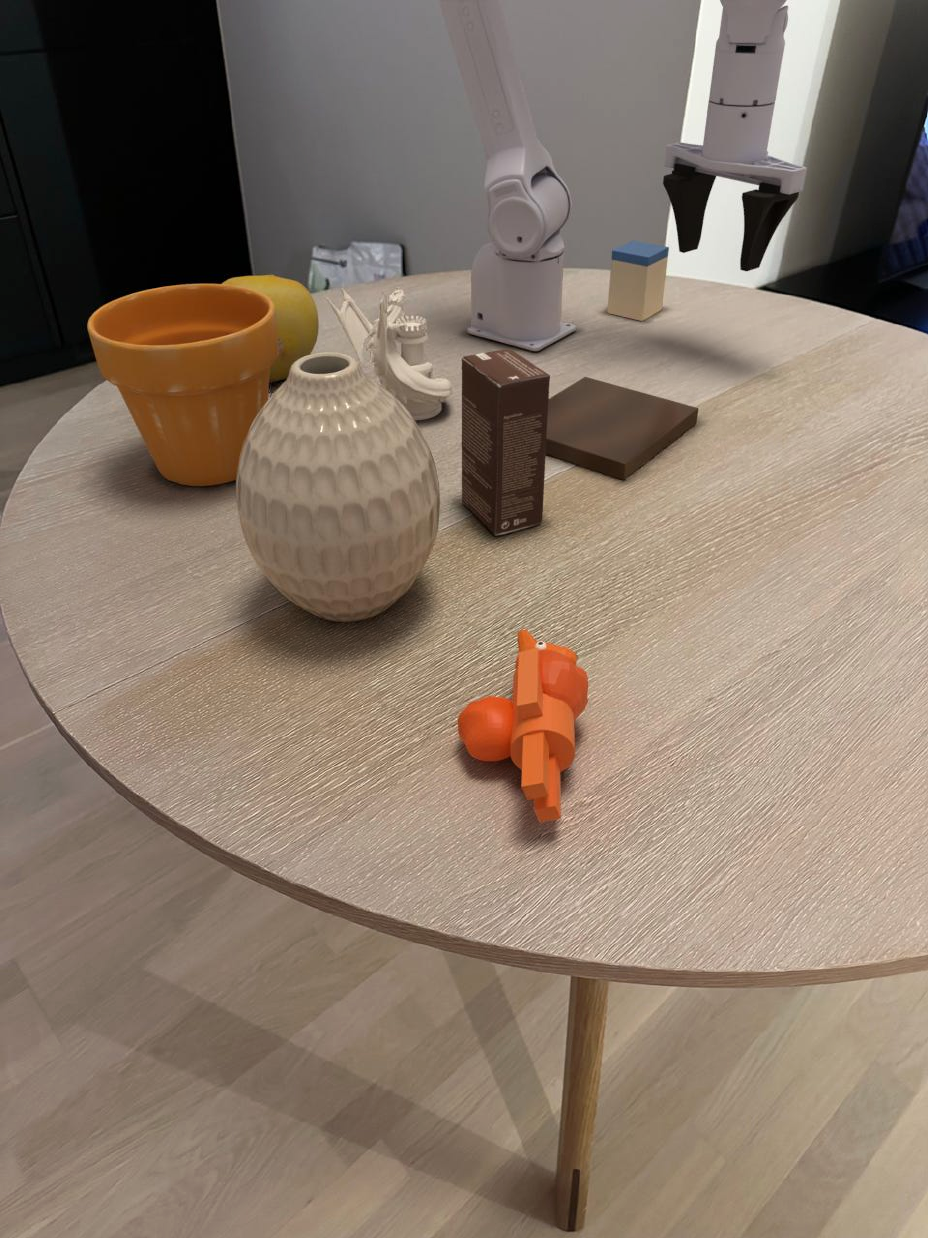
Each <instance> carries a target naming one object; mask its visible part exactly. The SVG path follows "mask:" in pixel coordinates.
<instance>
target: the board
mask: <svg viewBox="0 0 928 1238" xmlns="http://www.w3.org/2000/svg"><path fill="white" fill-rule="evenodd" d="M548 400H549V401H548V417H547V419H548V421H547V438H546V455H547V456H551V457H553V458H556V459H559V460H562V461H565V462H568V463H571V464H574V465H577V466H581V467H583V468H586V469H589V470H592V471H595V472H599V473H601V474H604V475H607V476H610V477H614V478H616V479H619V480H623V481H624V480H625V479H627V478H628V477H629V476H631V475H632V474H633V473H635V472H636V471H637V470H639V469H640V468H641V467H642V466H643V465H645V464H646V463H648V462H649V461H650V460H651V459H652V458H654V457H655V456H656V455H657V454H659V453H660V452H662V451H663V450H664V449H665V448H666V447H668V446H669V445H670V444H672V443H673V442H674V441H676V440H677V439H678V438H680V436H682V435H683V434H684V433H686V432H687V431H688V430H690V429H691V428H693V426H695V425H696V424H697V422H698V421H697V420H698V417H699V407H696V406H692V405H689V404H685V403H682V402H678V401H674V400H671V399H667V398H665V397H664V398H663V397H661V396H657V395H653V394H649V393H647V392H643V391H638V390H636V389H635V390H634V389H631V388H628V387H624V386H620V385H616V384H613V383H610V382H605V381H602V380H600V379H599V380H598V379H595V378H592V377H588V376H584V377H582V378H581V379H579V380H577V381H576V382H574V383H572V384H571V385H569V386H568V387H566V388H564V389H563V390H560V391H559V392H558V393H557V394H554V395H553V396H551V397H549V399H548Z"/></svg>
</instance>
